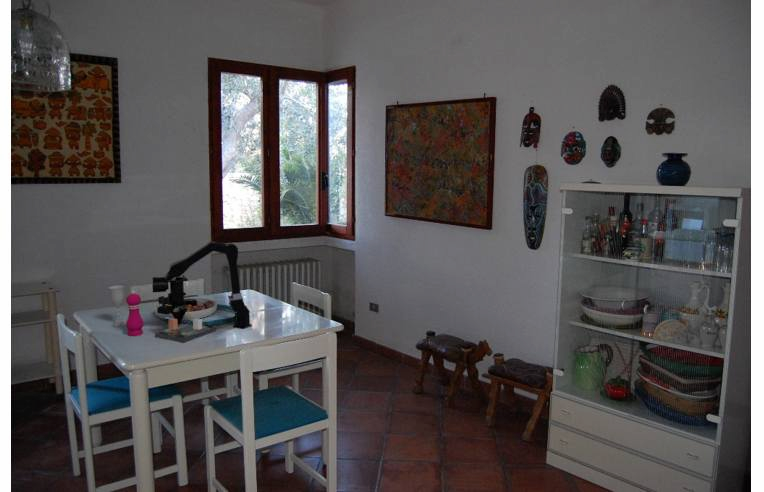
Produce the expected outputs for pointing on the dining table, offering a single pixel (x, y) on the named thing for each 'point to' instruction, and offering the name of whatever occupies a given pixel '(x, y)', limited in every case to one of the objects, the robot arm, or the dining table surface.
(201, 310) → the bowl
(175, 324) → the block
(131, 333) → the pepper mill
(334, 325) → the dining table surface
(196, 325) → the fader
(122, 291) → the chalice
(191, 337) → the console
